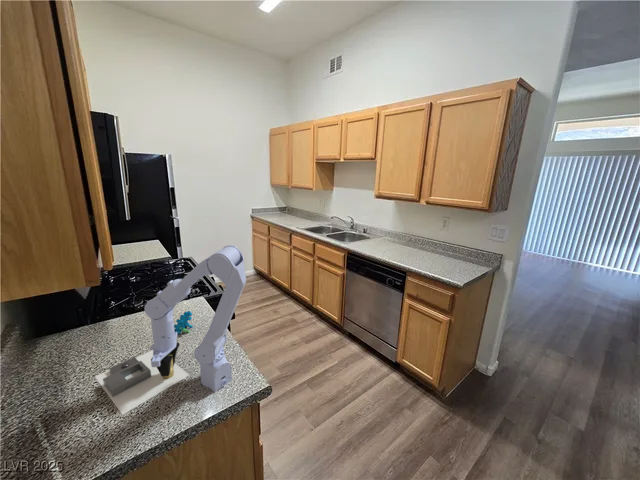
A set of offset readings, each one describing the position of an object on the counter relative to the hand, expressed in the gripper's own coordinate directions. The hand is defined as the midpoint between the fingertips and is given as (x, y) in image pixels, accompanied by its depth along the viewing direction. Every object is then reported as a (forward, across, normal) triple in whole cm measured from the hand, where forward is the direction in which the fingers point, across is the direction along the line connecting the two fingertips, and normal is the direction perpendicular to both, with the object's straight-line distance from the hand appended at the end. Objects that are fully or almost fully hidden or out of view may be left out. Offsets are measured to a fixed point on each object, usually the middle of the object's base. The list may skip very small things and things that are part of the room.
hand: (167, 370), depth 82 cm
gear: (+3, -27, -4) cm, 27 cm away
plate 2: (+2, +1, -11) cm, 11 cm away
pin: (+2, 0, 0) cm, 2 cm away
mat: (+3, -1, -8) cm, 8 cm away
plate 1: (+2, -2, -12) cm, 12 cm away
